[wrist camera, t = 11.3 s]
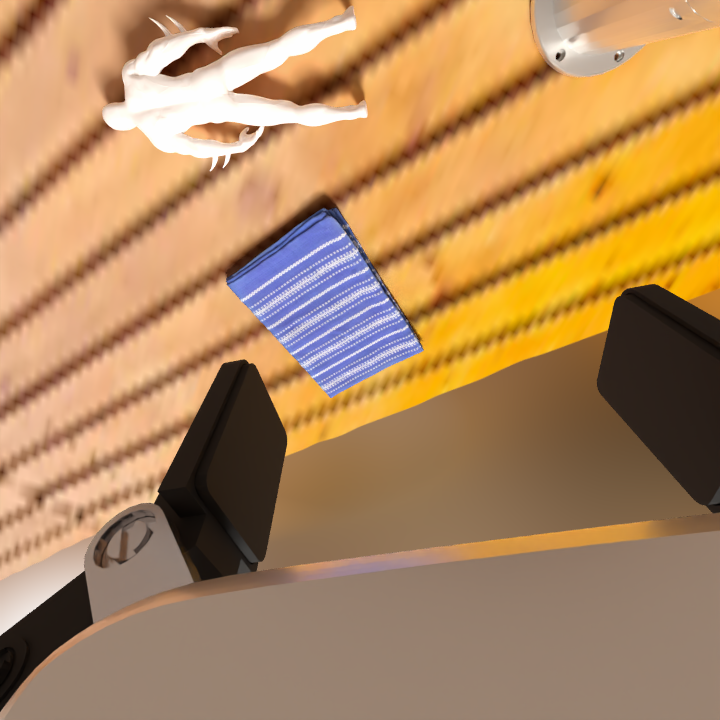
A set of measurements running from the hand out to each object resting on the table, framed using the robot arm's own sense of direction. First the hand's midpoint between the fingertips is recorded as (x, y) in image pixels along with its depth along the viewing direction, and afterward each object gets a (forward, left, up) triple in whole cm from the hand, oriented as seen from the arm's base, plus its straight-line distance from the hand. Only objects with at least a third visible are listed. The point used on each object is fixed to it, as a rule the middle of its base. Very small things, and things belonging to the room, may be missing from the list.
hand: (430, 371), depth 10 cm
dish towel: (+5, +17, -37) cm, 41 cm away
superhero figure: (+13, -7, -37) cm, 40 cm away
